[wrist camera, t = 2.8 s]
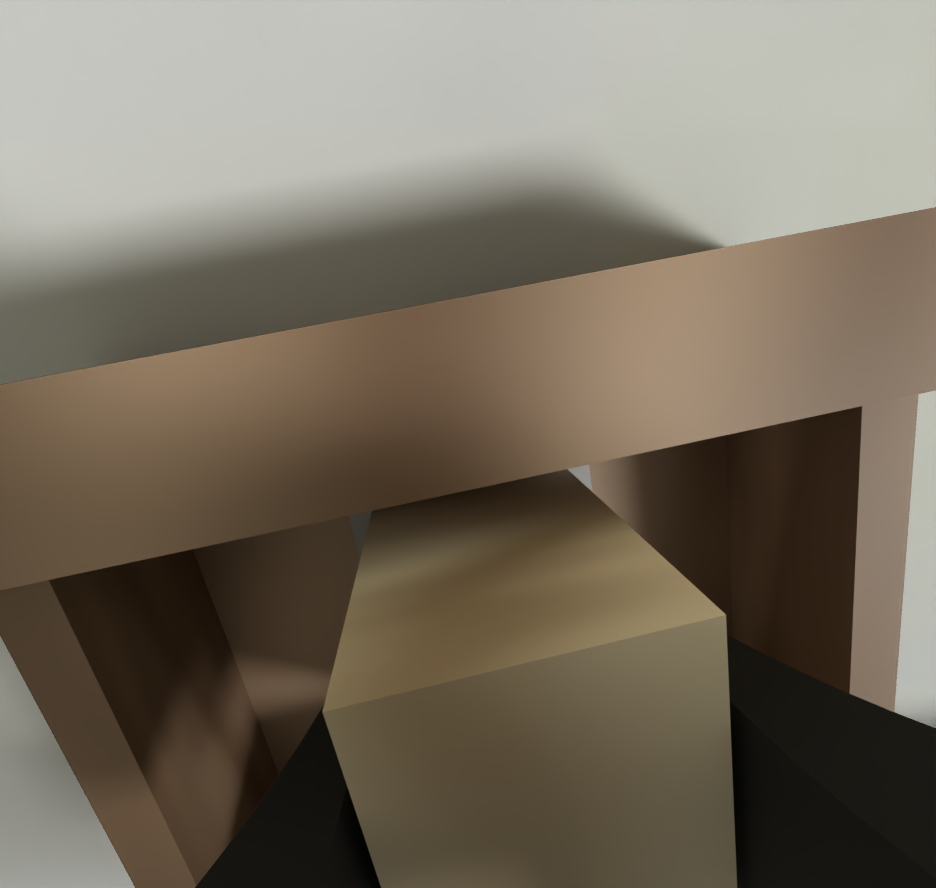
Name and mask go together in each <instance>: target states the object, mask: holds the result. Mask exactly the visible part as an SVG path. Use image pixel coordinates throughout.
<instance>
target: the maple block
mask: <svg viewBox="0 0 936 888" xmlns="http://www.w3.org/2000/svg"><path fill="white" fill-rule="evenodd" d="M322 712H323V715H324V718H325V721H326V724H327V727H328V730H329V733H330V736H331V739H332V742H333V745H334V748H335V751H336V754H337V757H338V760H339V763H340V766H341V769H342V772H343V775H344V778H345V781H346V784H347V787H348V790H349V793H350V796H351V799H352V802H353V805H354V808H355V811H356V814H357V817H358V820H359V823H360V826H361V829H362V832H363V835H364V838H365V841H366V844H367V847H368V850H369V853H370V856H371V859H372V862H373V865H374V868H375V871H376V874H377V877H378V880H379V883H380V886H381V888H737V872H736V847H735V823H734V798H733V773H732V749H731V724H730V699H729V675H728V650H727V626H726V614H725V613H724V612H723V611H721V610H720V609H719V608H718V607H717V606H716V605H715V604H714V603H713V602H712V601H711V600H709V599H708V598H707V597H706V596H705V595H704V594H703V593H702V592H701V591H700V590H699V589H697V588H696V587H695V586H694V585H693V584H692V583H691V582H690V581H689V580H688V579H687V578H686V577H684V576H683V575H682V574H681V573H680V572H679V571H678V570H677V569H676V568H675V567H674V566H672V565H671V564H670V563H669V562H668V561H667V560H666V559H665V558H664V557H663V556H662V555H660V554H659V553H658V552H657V551H656V550H655V549H654V548H653V547H652V546H651V545H650V544H648V543H647V542H646V541H645V540H644V539H643V538H642V537H641V536H640V535H639V534H638V533H636V532H635V531H634V530H633V529H632V528H631V527H630V526H629V525H628V524H627V523H626V522H625V521H623V520H622V519H621V518H620V517H619V516H618V515H617V514H616V513H615V512H614V511H613V510H611V509H610V508H609V507H608V506H607V505H606V504H605V503H604V502H603V501H602V500H601V499H599V498H598V497H597V496H596V495H595V494H594V493H593V492H592V491H591V490H590V489H589V488H587V487H586V486H585V485H584V484H583V483H582V482H581V481H580V480H579V479H578V478H577V477H576V476H574V475H573V474H572V473H571V472H570V471H569V470H568V469H565V470H561V471H556V472H551V473H546V474H542V475H537V476H532V477H528V478H523V479H518V480H514V481H509V482H504V483H500V484H495V485H490V486H486V487H481V488H476V489H472V490H467V491H462V492H458V493H453V494H448V495H444V496H439V497H434V498H430V499H425V500H420V501H416V502H411V503H406V504H402V505H397V506H392V507H388V508H383V509H378V510H374V511H372V513H371V517H370V521H369V525H368V530H367V534H366V538H365V542H364V546H363V550H362V554H361V558H360V562H359V566H358V570H357V574H356V578H355V582H354V586H353V590H352V594H351V598H350V602H349V606H348V610H347V614H346V618H345V622H344V626H343V631H342V635H341V639H340V643H339V647H338V651H337V655H336V659H335V663H334V667H333V671H332V675H331V679H330V683H329V687H328V691H327V695H326V699H325V703H324V707H323V711H322Z"/></svg>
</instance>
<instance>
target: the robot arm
mask: <svg viewBox="0 0 936 888" xmlns="http://www.w3.org/2000/svg"><path fill="white" fill-rule="evenodd" d="M727 650H728V675H729V699H730V724H731V749H732V773H733V798H734V823H735V847H736V872H737V888H936V728H933V727H930V726H928V725H925V724H923V723H920V722H918V721H915V720H912V719H910V718H907V717H905V716H902V715H900V714H897V713H895V712H892V711H890V710H887V709H885V708H883V707H880V706H878V705H876V704H873V703H871V702H868V701H866V700H864V699H861V698H859V697H856V696H854V695H852V694H849V693H847V692H845V691H842V690H840V689H837V688H835V687H833V686H831V685H828V684H826V683H824V682H822V681H820V680H817V679H815V678H813V677H811V676H809V675H806V674H804V673H802V672H800V671H798V670H796V669H794V668H792V667H790V666H788V665H786V664H784V663H782V662H780V661H778V660H776V659H773V658H771V657H769V656H767V655H765V654H763V653H761V652H759V651H757V650H755V649H753V648H751V647H750V646H748V645H746V644H744V643H742V642H740V641H738V640H736V639H734V638H732V637H730V636H729V635H727ZM323 707H324V705H323ZM323 707H322V708H321V710H320V712H319V713H318V715H317V716H316V718H315V720H314V721H313V723H312V724H311V726H310V728H309V729H308V731H307V732H306V734H305V736H304V737H303V739H302V740H301V742H300V743H299V745H298V747H297V748H296V750H295V751H294V753H293V754H292V756H291V757H290V759H289V760H288V762H287V763H286V765H285V766H284V767H283V769H282V770H281V772H280V773H279V775H278V776H277V778H276V779H275V781H274V782H273V784H272V785H271V786H270V788H269V789H268V791H267V792H266V794H265V795H264V797H263V798H262V800H261V801H260V803H259V804H258V805H257V807H256V808H255V810H254V811H253V812H252V814H251V815H250V816H249V818H248V819H247V821H246V822H245V823H244V825H243V826H242V827H241V829H240V830H239V831H238V833H237V834H236V835H235V837H234V838H233V839H232V841H231V842H230V843H229V845H228V846H227V847H226V849H225V850H224V851H223V853H222V854H221V855H220V856H219V858H218V859H217V860H216V862H215V863H214V864H213V865H212V867H211V868H210V869H209V870H208V872H207V873H206V874H205V876H204V877H203V878H202V879H201V881H200V882H199V883H198V884H197V886H196V887H195V888H381V886H380V883H379V880H378V877H377V874H376V871H375V868H374V865H373V862H372V859H371V856H370V853H369V850H368V847H367V844H366V841H365V838H364V835H363V832H362V829H361V826H360V823H359V820H358V817H357V814H356V811H355V808H354V805H353V802H352V799H351V796H350V793H349V790H348V787H347V784H346V781H345V778H344V775H343V772H342V769H341V766H340V763H339V760H338V757H337V754H336V751H335V748H334V745H333V742H332V739H331V736H330V733H329V730H328V727H327V724H326V721H325V718H324V715H323V712H322V711H323Z"/></svg>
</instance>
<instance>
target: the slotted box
mask: <svg viewBox="0 0 936 888" xmlns="http://www.w3.org/2000/svg"><path fill="white" fill-rule="evenodd" d="M934 390H936V207H935V208H930V209H925V210H919V211H914V212H909V213H903V214H898V215H893V216H888V217H882V218H877V219H872V220H867V221H861V222H856V223H851V224H845V225H840V226H835V227H830V228H824V229H819V230H814V231H808V232H803V233H798V234H793V235H787V236H782V237H777V238H771V239H766V240H761V241H756V242H750V243H745V244H740V245H735V246H729V247H724V248H719V249H713V250H708V251H703V252H698V253H692V254H687V255H682V256H676V257H671V258H666V259H661V260H655V261H650V262H645V263H640V264H634V265H629V266H624V267H618V268H613V269H608V270H603V271H597V272H592V273H587V274H581V275H576V276H571V277H566V278H560V279H555V280H550V281H544V282H539V283H534V284H529V285H523V286H518V287H513V288H508V289H502V290H497V291H492V292H486V293H481V294H476V295H471V296H465V297H460V298H455V299H449V300H444V301H439V302H434V303H428V304H423V305H418V306H412V307H407V308H402V309H397V310H391V311H386V312H381V313H376V314H370V315H365V316H360V317H354V318H349V319H344V320H339V321H333V322H328V323H323V324H317V325H312V326H307V327H302V328H296V329H291V330H286V331H280V332H275V333H270V334H265V335H259V336H254V337H249V338H244V339H238V340H233V341H228V342H222V343H217V344H212V345H207V346H201V347H196V348H191V349H185V350H180V351H175V352H170V353H164V354H159V355H154V356H148V357H143V358H138V359H133V360H127V361H122V362H117V363H112V364H106V365H101V366H96V367H90V368H85V369H80V370H75V371H69V372H64V373H59V374H53V375H48V376H43V377H38V378H32V379H27V380H22V381H16V382H11V383H6V384H1V385H0V636H1V638H2V640H3V642H4V643H5V645H6V647H7V649H8V651H9V653H10V655H11V656H12V658H13V660H14V662H15V664H16V666H17V668H18V670H19V671H20V673H21V675H22V677H23V679H24V681H25V683H26V684H27V686H28V688H29V690H30V692H31V694H32V696H33V698H34V699H35V701H36V703H37V705H38V707H39V709H40V711H41V712H42V714H43V716H44V718H45V720H46V722H47V724H48V725H49V727H50V729H51V731H52V733H53V735H54V737H55V739H56V740H57V742H58V744H59V746H60V748H61V750H62V752H63V753H64V755H65V757H66V759H67V761H68V763H69V765H70V767H71V768H72V770H73V772H74V774H75V776H76V778H77V780H78V781H79V783H80V785H81V787H82V789H83V791H84V793H85V795H86V796H87V798H88V800H89V802H90V804H91V806H92V808H93V809H94V811H95V813H96V815H97V817H98V819H99V821H100V823H101V824H102V826H103V828H104V830H105V832H106V834H107V836H108V837H109V839H110V841H111V843H112V845H113V847H114V849H115V850H116V852H117V854H118V856H119V858H120V860H121V862H122V864H123V865H124V867H125V869H126V871H127V873H128V875H129V877H130V878H131V880H132V882H133V884H134V886H135V888H195V887H196V886H197V884H198V883H199V882H200V881H201V879H202V878H203V877H204V876H205V874H206V873H207V872H208V870H209V869H210V868H211V867H212V865H213V864H214V863H215V862H216V860H217V859H218V858H219V856H220V855H221V854H222V853H223V851H224V850H225V849H226V847H227V846H228V845H229V843H230V842H231V841H232V839H233V838H234V837H235V835H236V834H237V833H238V831H239V830H240V829H241V827H242V826H243V825H244V823H245V822H246V821H247V819H248V818H249V816H250V815H251V814H252V812H253V811H254V810H255V808H256V807H257V805H258V804H259V803H260V801H261V800H262V798H263V797H264V795H265V794H266V792H267V791H268V789H269V788H270V786H271V785H272V784H273V782H274V781H275V779H276V778H277V776H278V775H279V773H280V772H281V770H282V769H283V767H284V766H285V765H286V763H287V762H288V760H289V759H290V757H291V756H292V754H293V753H294V751H295V750H296V748H297V747H298V745H299V743H300V742H301V740H302V739H303V737H304V736H305V734H306V732H307V731H308V729H309V728H310V726H311V724H312V723H313V721H314V720H315V718H316V716H317V715H318V713H319V712H320V710H321V708H322V707H323V705H324V703H325V699H326V695H327V691H328V687H329V683H330V679H331V675H332V671H333V667H334V663H335V659H336V655H337V651H338V647H339V643H340V639H341V635H342V631H343V626H344V622H345V618H346V614H347V610H348V606H349V602H350V598H351V594H352V590H353V586H354V582H355V578H356V574H357V570H358V566H359V562H360V558H361V554H362V550H363V546H364V542H365V538H366V534H367V530H368V525H369V521H370V517H371V513H372V511H374V510H378V509H383V508H388V507H392V506H397V505H402V504H406V503H411V502H416V501H420V500H425V499H430V498H434V497H439V496H444V495H448V494H453V493H458V492H462V491H467V490H472V489H476V488H481V487H486V486H490V485H495V484H500V483H504V482H509V481H514V480H518V479H523V478H528V477H532V476H537V475H542V474H546V473H551V472H556V471H561V470H565V469H568V470H569V471H570V472H571V473H572V474H573V475H574V476H576V477H577V478H578V479H579V480H580V481H581V482H582V483H583V484H584V485H585V486H586V487H587V488H589V489H590V490H591V491H592V492H593V493H594V494H595V495H596V496H597V497H598V498H599V499H601V500H602V501H603V502H604V503H605V504H606V505H607V506H608V507H609V508H610V509H611V510H613V511H614V512H615V513H616V514H617V515H618V516H619V517H620V518H621V519H622V520H623V521H625V522H626V523H627V524H628V525H629V526H630V527H631V528H632V529H633V530H634V531H635V532H636V533H638V534H639V535H640V536H641V537H642V538H643V539H644V540H645V541H646V542H647V543H648V544H650V545H651V546H652V547H653V548H654V549H655V550H656V551H657V552H658V553H659V554H660V555H662V556H663V557H664V558H665V559H666V560H667V561H668V562H669V563H670V564H671V565H672V566H674V567H675V568H676V569H677V570H678V571H679V572H680V573H681V574H682V575H683V576H684V577H686V578H687V579H688V580H689V581H690V582H691V583H692V584H693V585H694V586H695V587H696V588H697V589H699V590H700V591H701V592H702V593H703V594H704V595H705V596H706V597H707V598H708V599H709V600H711V601H712V602H713V603H714V604H715V605H716V606H717V607H718V608H719V609H720V610H721V611H723V612H724V613H725V614H726V626H727V635H729V636H730V637H732V638H734V639H736V640H738V641H740V642H742V643H744V644H746V645H748V646H750V647H751V648H753V649H755V650H757V651H759V652H761V653H763V654H765V655H767V656H769V657H771V658H773V659H776V660H778V661H780V662H782V663H784V664H786V665H788V666H790V667H792V668H794V669H796V670H798V671H800V672H802V673H804V674H806V675H809V676H811V677H813V678H815V679H817V680H820V681H822V682H824V683H826V684H828V685H831V686H833V687H835V688H837V689H840V690H842V691H845V692H847V693H849V694H852V695H854V696H856V697H859V698H861V699H864V700H866V701H868V702H871V703H873V704H876V705H878V706H880V707H883V708H885V709H887V710H890V711H892V712H894V706H895V693H896V680H897V667H898V654H899V641H900V628H901V615H902V601H903V588H904V575H905V562H906V549H907V536H908V523H909V510H910V496H911V483H912V470H913V457H914V444H915V431H916V418H917V405H918V394H920V393H925V392H930V391H934Z"/></svg>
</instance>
